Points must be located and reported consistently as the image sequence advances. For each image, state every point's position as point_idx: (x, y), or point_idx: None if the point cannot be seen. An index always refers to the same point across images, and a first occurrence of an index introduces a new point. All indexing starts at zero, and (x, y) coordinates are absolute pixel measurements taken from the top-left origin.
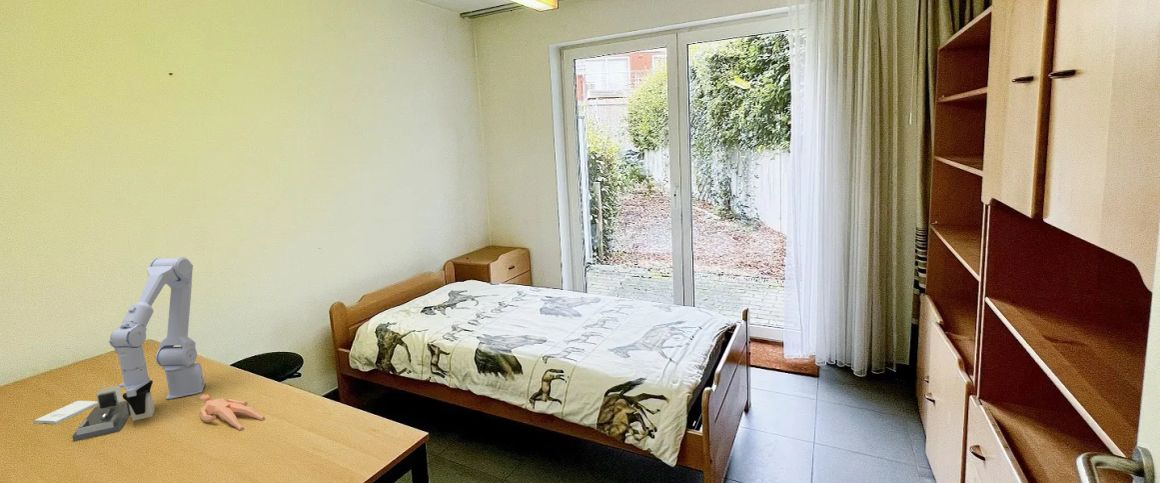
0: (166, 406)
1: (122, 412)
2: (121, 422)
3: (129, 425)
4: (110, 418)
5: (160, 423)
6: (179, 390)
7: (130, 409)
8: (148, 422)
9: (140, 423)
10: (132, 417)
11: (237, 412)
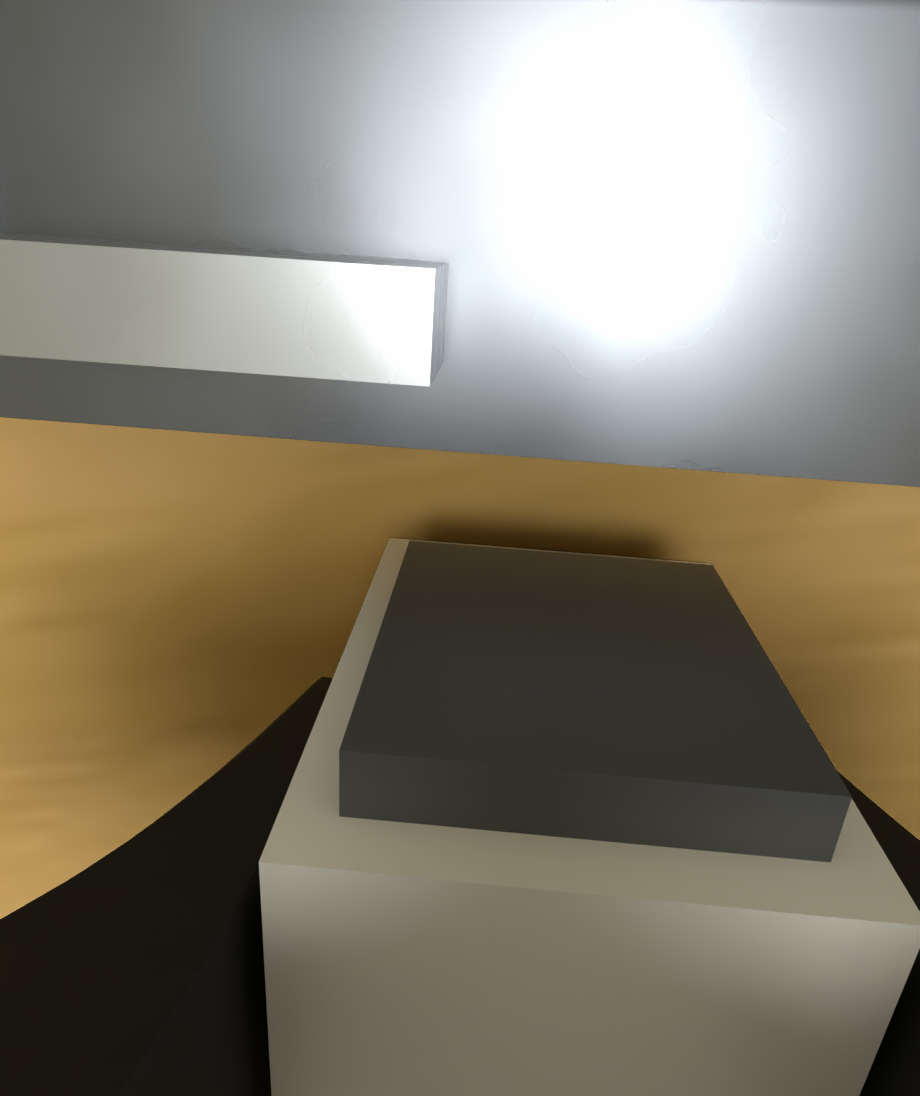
0: None
1: (802, 361)
2: (155, 422)
3: (176, 518)
4: (549, 111)
5: (14, 902)
6: None
7: (340, 682)
8: (146, 771)
9: (170, 672)
10: (373, 583)
11: None
